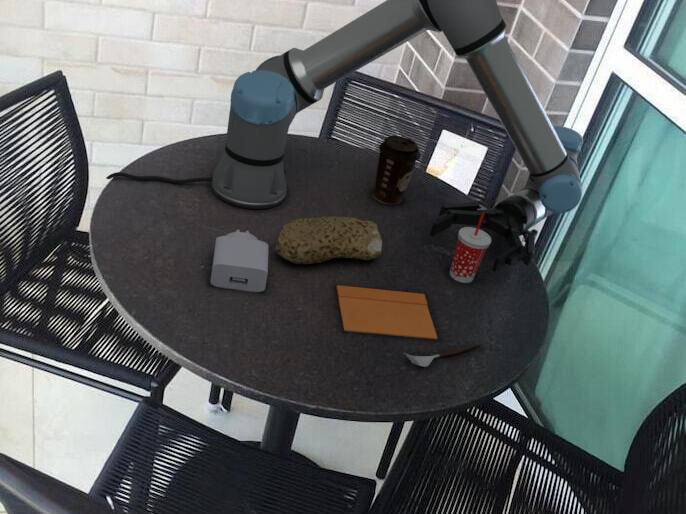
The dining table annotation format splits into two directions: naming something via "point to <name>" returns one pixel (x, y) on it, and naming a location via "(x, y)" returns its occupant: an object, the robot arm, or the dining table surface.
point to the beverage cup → (469, 252)
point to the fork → (439, 355)
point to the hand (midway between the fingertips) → (463, 247)
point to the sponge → (328, 240)
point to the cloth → (385, 312)
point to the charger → (240, 262)
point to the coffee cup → (394, 169)
